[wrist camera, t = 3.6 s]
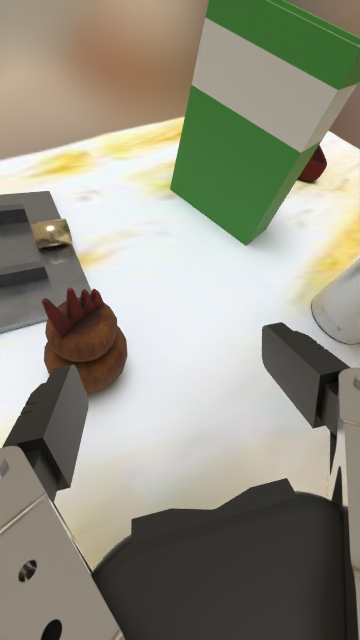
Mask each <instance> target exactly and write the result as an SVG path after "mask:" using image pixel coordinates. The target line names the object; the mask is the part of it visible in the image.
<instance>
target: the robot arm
mask: <svg viewBox="0 0 360 640" xmlns="http://www.w3.org/2000/svg"><path fill="white" fill-rule="evenodd" d="M312 311H313V315H314V317H315V319H316V321H317V322H318V324H319V325H320V327H321V328H322V329H323V330H324V331H325V332H326V333H327V334H329V335H330V336H331V337H333V338H334V339H336V340H338V341H340V342H343V343H347V344H356V343H360V258H359V259H358V260H357V261H356V262H355V263H354V264H352V265H351V266H350V267H349V268H348V269H347V270H346V271H344V272H343V273H342V274H341V275H340V276H339V277H337V278H336V279H335V280H334V281H333V282H332V283H330V284H329V285H328V286H327V287H326V288H325V289H324V290H322V291H321V292H320V293H319V294H318V295H317V296H316V297H315V298H314V299H313V301H312ZM262 360H263V363H264V366H265V368H266V370H267V371H268V372H269V374H270V375H271V376H272V377H273V379H274V380H275V381H276V382H277V384H278V385H279V386H280V387H281V389H282V390H283V391H284V392H285V394H286V395H287V396H288V397H289V399H290V400H291V401H292V403H293V404H294V405H295V406H296V408H297V409H298V410H299V411H300V413H301V414H302V415H303V416H304V418H305V419H306V420H307V421H308V423H309V424H310V425H311V426H312V428H317V427H321V426H325V425H326V427H327V428H328V429H329V436H328V486H327V497H326V498H324V497H322V496H319V495H315V494H311V493H306V492H300V491H294V490H293V488H292V486H291V484H290V483H289V481H288V479H287V478H285V479H282V480H278V481H274V482H270V483H266V484H263V485H259V486H255V487H251V488H249V489H248V490H246V491H244V492H243V493H241V494H239V495H238V496H236V497H235V498H233V499H231V500H230V501H228V502H227V503H225V504H223V505H222V506H220V507H218V508H216V509H213V510H201V509H168V510H164V511H160V512H157V513H153V514H149V515H145V516H141V517H138V518H134V519H132V528H131V535H130V536H128V537H126V538H125V539H124V540H122V541H121V542H120V543H118V544H117V545H116V546H115V547H114V548H113V549H112V550H111V551H110V552H109V553H108V554H107V555H106V556H105V557H104V558H103V559H102V560H101V562H100V563H99V564H98V565H97V567H96V568H95V569H94V571H93V569H92V567H91V566H90V564H89V562H88V561H87V559H86V557H85V556H84V554H83V552H82V550H81V549H80V547H79V545H78V543H77V542H76V540H75V538H74V536H73V535H72V533H71V531H70V529H69V528H68V526H67V524H66V522H65V521H64V519H63V517H62V515H61V514H60V512H59V510H58V508H57V507H56V505H55V503H54V500H55V496H56V492H57V491H58V490H62V489H66V488H70V486H71V482H72V477H73V473H74V468H75V464H76V459H77V455H78V451H79V446H80V442H81V437H82V433H83V428H84V424H85V419H86V415H87V411H88V398H87V394H86V391H85V388H84V386H83V383H82V381H81V378H80V376H79V373H78V370H77V368H76V367H75V365H68V366H64V367H59V368H54V369H53V370H52V372H51V374H50V376H49V378H48V380H47V382H46V383H42V384H41V385H40V386H39V387H38V388H37V389H36V390H35V391H34V392H32V393H31V395H30V397H29V399H28V401H27V402H26V404H25V405H26V406H25V407H24V408H23V410H22V412H21V415H20V416H19V417H18V419H17V421H16V423H15V425H14V426H13V428H12V430H11V432H10V434H9V436H8V437H7V439H6V441H5V443H4V445H3V447H2V448H1V449H0V640H360V368H350V367H349V366H348V365H346V364H345V363H344V362H342V361H341V360H340V359H338V358H337V357H336V356H334V355H333V354H332V353H330V352H329V351H328V350H327V349H324V347H323V346H321V345H320V344H319V343H318V344H317V342H316V341H315V340H313V339H312V338H311V337H309V336H308V335H306V334H303V333H300V332H298V331H292V330H291V329H290V328H289V327H287V326H286V325H285V324H284V323H282V322H280V323H275V324H270V325H265V326H263V329H262Z"/></svg>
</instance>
